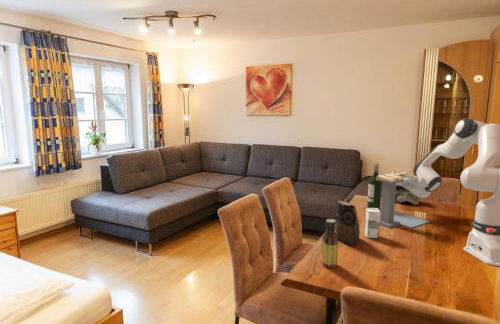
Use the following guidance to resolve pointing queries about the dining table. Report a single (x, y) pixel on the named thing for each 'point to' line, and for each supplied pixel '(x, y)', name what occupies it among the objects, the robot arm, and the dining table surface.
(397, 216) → the mat
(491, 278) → the dining table surface
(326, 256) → the sauce bottle
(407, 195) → the hollow geode rock
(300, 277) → the dining table surface
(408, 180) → the robot arm
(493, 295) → the dining table surface
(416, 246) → the dining table surface
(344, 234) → the black speaker
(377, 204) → the wine bottle
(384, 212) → the pedestal
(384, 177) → the board
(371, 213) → the syrup box
